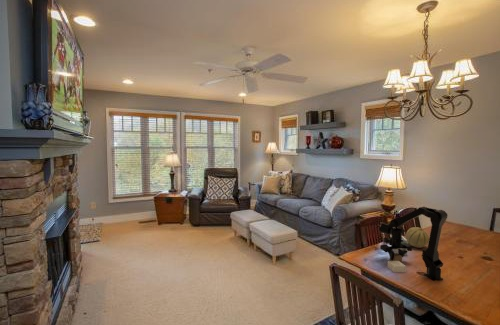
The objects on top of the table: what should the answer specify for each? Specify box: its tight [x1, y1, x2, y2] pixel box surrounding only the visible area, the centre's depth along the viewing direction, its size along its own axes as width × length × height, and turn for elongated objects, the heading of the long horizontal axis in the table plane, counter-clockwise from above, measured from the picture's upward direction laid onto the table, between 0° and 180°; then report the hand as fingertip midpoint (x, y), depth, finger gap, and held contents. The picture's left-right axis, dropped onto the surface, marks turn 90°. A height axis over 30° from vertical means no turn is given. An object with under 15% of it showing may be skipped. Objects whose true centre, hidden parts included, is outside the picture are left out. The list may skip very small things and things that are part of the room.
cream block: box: [387, 260, 407, 273], centre depth 155 cm, size 7×7×4 cm
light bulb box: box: [393, 235, 409, 256], centre depth 180 cm, size 11×7×11 cm, turn 168°
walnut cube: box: [389, 253, 403, 264], centre depth 165 cm, size 5×5×5 cm
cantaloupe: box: [405, 226, 430, 249], centre depth 188 cm, size 15×15×15 cm
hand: (395, 260), depth 165 cm, fingers closed on walnut cube, 5 cm apart
